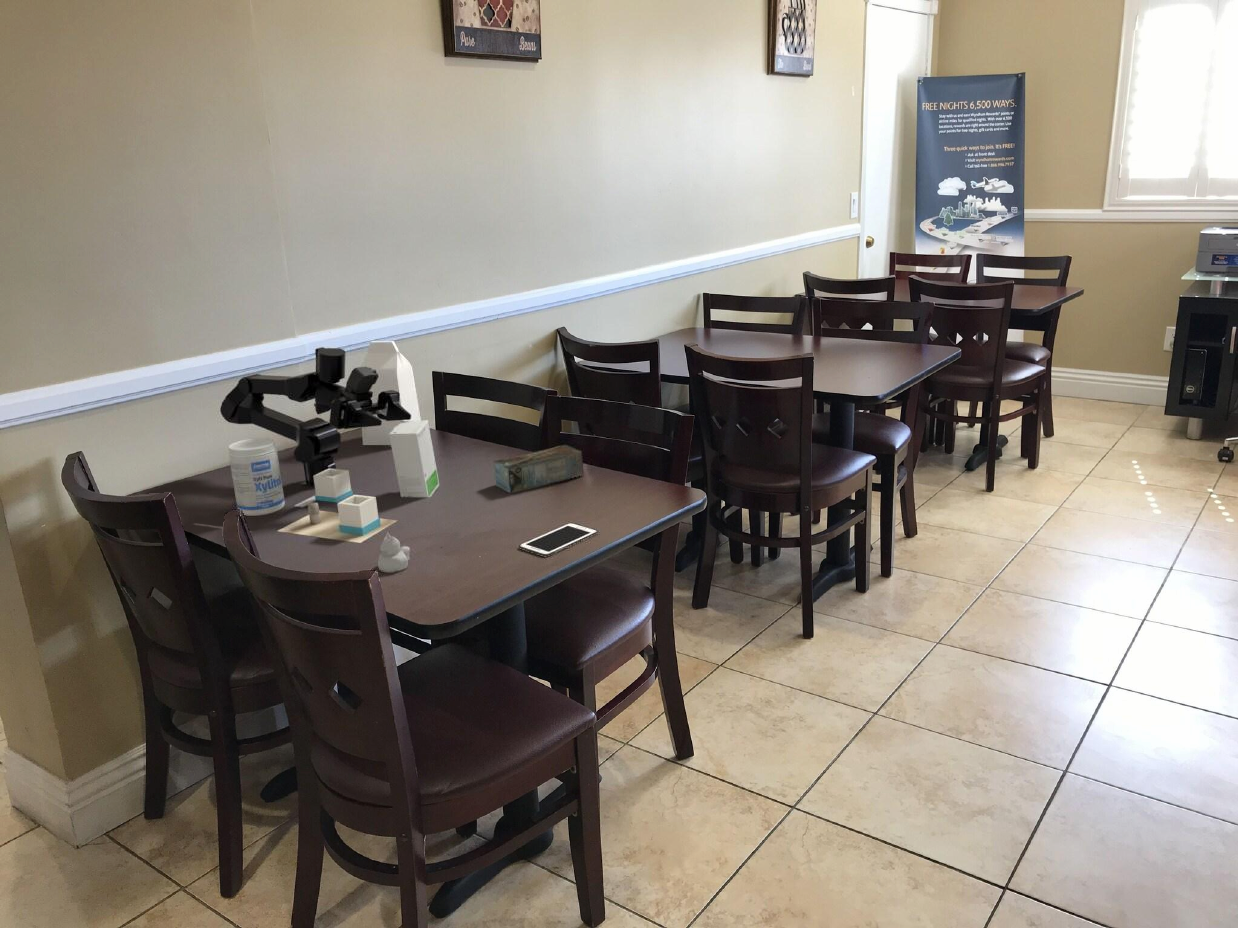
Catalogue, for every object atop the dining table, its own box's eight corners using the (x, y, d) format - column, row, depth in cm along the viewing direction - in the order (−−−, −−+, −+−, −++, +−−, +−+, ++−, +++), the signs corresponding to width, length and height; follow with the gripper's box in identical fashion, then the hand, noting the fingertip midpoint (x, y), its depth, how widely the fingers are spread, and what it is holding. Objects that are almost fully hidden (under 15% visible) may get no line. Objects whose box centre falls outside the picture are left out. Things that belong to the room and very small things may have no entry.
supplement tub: (266, 519, 198) (255, 451, 193) (228, 516, 200) (216, 449, 196) (294, 503, 206) (284, 438, 202) (258, 500, 209) (247, 436, 205)
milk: (363, 445, 247) (350, 346, 239) (380, 433, 258) (369, 337, 249) (407, 446, 245) (395, 345, 237) (423, 433, 256) (412, 337, 247)
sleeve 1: (315, 502, 205) (311, 475, 203) (332, 493, 210) (329, 467, 208) (336, 504, 203) (333, 478, 201) (353, 496, 208) (349, 470, 206)
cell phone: (600, 534, 183) (600, 530, 183) (546, 560, 173) (545, 555, 173) (571, 526, 188) (571, 521, 188) (516, 550, 178) (516, 545, 177)
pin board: (277, 535, 188) (274, 512, 187) (318, 514, 199) (314, 492, 197) (360, 547, 181) (357, 523, 179) (398, 525, 191) (395, 501, 190)
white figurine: (371, 574, 169) (366, 532, 167) (400, 561, 174) (395, 520, 171) (391, 581, 166) (386, 538, 163) (420, 568, 171) (415, 526, 168)
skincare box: (428, 501, 204) (416, 434, 198) (399, 501, 205) (386, 434, 199) (440, 484, 211) (429, 419, 205) (412, 484, 213) (400, 419, 206)
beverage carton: (493, 485, 213) (491, 457, 211) (568, 468, 223) (567, 441, 221) (509, 495, 207) (507, 466, 205) (585, 477, 216) (584, 449, 214)
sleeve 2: (339, 532, 186) (335, 503, 184) (357, 522, 191) (353, 494, 189) (363, 535, 184) (359, 506, 182) (380, 525, 189) (377, 496, 187)
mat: (294, 507, 204) (293, 505, 204) (330, 489, 214) (330, 487, 214) (339, 513, 199) (339, 511, 199) (374, 494, 210) (374, 492, 210)
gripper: (313, 367, 197) (370, 388, 191) (374, 360, 213) (429, 379, 207) (307, 418, 200) (363, 440, 194) (368, 407, 217) (422, 428, 210)
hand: (396, 420), depth 201 cm, fingers open, 9 cm apart
